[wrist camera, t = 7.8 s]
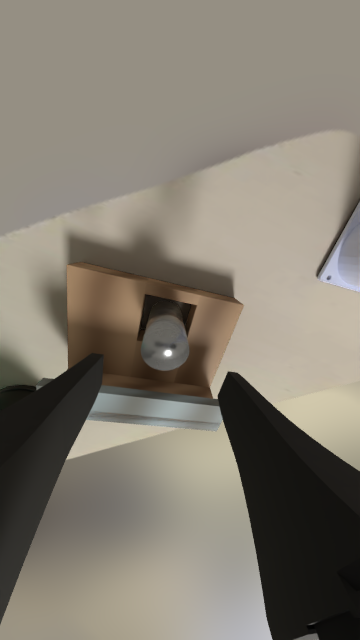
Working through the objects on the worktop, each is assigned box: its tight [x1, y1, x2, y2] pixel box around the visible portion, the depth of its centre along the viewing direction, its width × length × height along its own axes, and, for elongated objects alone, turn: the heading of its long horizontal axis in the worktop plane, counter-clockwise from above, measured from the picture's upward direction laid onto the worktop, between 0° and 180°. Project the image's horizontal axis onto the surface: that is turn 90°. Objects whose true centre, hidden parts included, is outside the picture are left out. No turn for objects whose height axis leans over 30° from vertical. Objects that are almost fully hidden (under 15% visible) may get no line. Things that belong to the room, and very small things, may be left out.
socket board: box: [36, 262, 244, 431], centre depth 16 cm, size 16×12×7 cm
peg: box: [141, 300, 189, 371], centre depth 16 cm, size 4×4×7 cm
